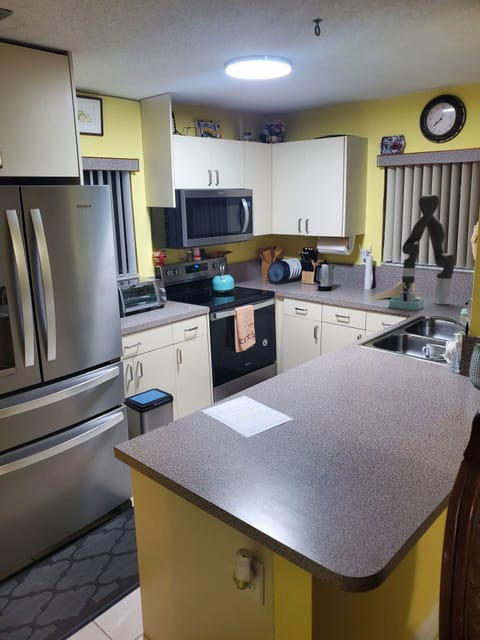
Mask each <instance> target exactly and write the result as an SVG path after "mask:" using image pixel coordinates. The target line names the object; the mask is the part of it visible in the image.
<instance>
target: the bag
mask: <svg viewBox="0 0 480 640" xmlns="http://www.w3.org/2000/svg"><path fill="white" fill-rule="evenodd" d="M403 285H405V283H403V282H402V279H401V280H400V281H398V283H397V284H396V285H395V286H393V287H391V288H389V289H388V290H386V291H383V292H381V293H378V294H375V295H372V296H371V297H369V298H370V299H371V300H382V299H387V298H389V299H390V298H391V299H392V298H394V297H400V292H403ZM411 293H414V299H422V297H421V296H417V294H416V286H415V284H414V283H412V292H411Z"/></svg>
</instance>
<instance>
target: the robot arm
mask: <svg viewBox="0 0 480 640" xmlns="http://www.w3.org/2000/svg"><path fill="white" fill-rule="evenodd" d="M439 205H440V198H439V196H438V195H437V194H423V195H421V196H420V197H419V199H418V206H419V210H420V212H421V214H422V216H421V217H420V218H419V219H418V220H417V221H416V222H415V224H414V225H413V227H412V229H411V231H410V234H409V236H408V238H407V239H406V240H405V241H404V243H403V245H402V248H401V250H402V253H403V254H404V255H409V256H408V258H405V259H404V260H403V267H402V273H401V274H402V276H401V280H402V282H403V283H405V285H403V295H404V296H403V301H407V295H408V293H409V292H410V293H411V292H412V283H413V284H414V283H415V278H416V277H415V276H416V262H417V259H418V256H419V254H420V245H418V242H419V241H421V239H422V237H423V235H424V233H425V230H426V228H427V233H428V237H429V239H430V242H431V247H432V252H433V257H434V262H435V265H436V266H437V267H438V268H441V269H442V271H441V272H438V273H436V279H435V291H434V292H435V293H434V300H433V301H434V302H433V303H434V304H437V305H449V304H450V296H451V287H452V286H451V285H452V278H453V274H454V268H455V264H456V260H455V259H456V257H455V255H453V254H451V253H444V249H443V243H444V240H445V237H446V234H445V233H446V232H445V229H444V227H443V224H442V222H440V220H439V218H437V216H435V212H436V211H437V209H438V207H439ZM405 292H406V293H405Z"/></svg>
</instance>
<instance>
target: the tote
mask: <svg viewBox="0 0 480 640" xmlns="http://www.w3.org/2000/svg"><path fill="white" fill-rule="evenodd" d="M399 299H400V297H393V298H391V299H389V301H388V309H396V310H397V309H398V310H405V311H415V312H418V311H420V310H421V309H422V308H423V307H424V299H422V298H421V299H414V302H407V301H399Z"/></svg>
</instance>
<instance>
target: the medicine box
mask: <svg viewBox="0 0 480 640" xmlns="http://www.w3.org/2000/svg"><path fill="white" fill-rule="evenodd" d="M405 293H406V292H405ZM403 296H404V295H403V292H400V299H399V301H403ZM407 302H414V293H410V292H409V293H408V295H407Z"/></svg>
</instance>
